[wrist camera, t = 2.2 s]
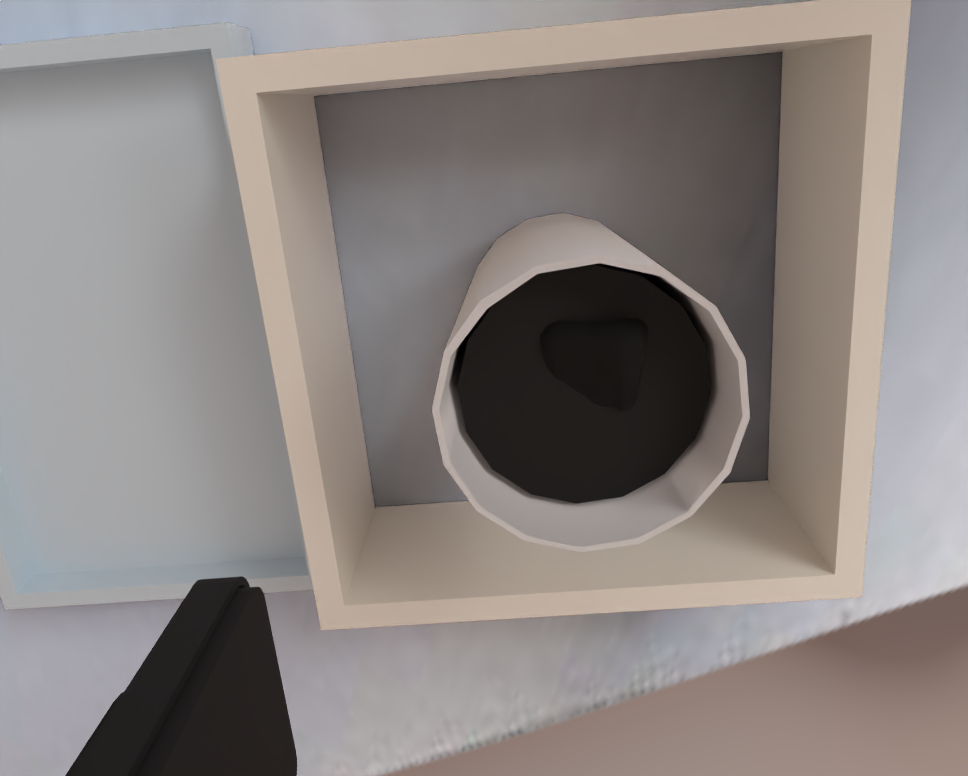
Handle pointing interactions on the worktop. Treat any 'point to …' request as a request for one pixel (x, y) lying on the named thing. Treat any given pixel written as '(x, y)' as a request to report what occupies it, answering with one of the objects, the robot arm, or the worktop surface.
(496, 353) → the white cup
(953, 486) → the worktop surface
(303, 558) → the tray
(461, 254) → the worktop surface
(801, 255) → the open beige storage bin
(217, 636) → the robot arm
